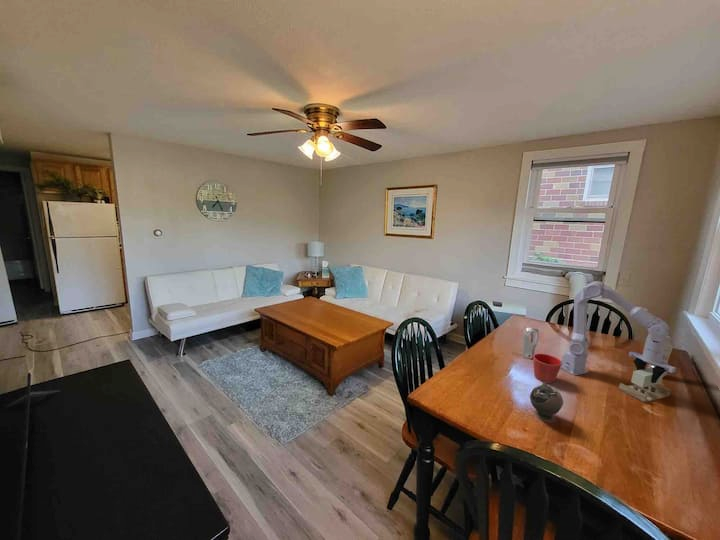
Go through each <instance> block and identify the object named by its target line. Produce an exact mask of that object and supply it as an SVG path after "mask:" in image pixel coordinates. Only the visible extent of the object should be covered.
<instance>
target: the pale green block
mask: <svg viewBox="0 0 720 540" xmlns="http://www.w3.org/2000/svg"><path fill="white" fill-rule="evenodd" d="M663 374H664V373H663ZM663 374H662V375H661V376H660V377H659V379H658V380H657V382H656V383H651V379H652V375H653V369H652V367H651V368H648V367H647V368H645V369H642V370H637V369H636V370H633V371H632V376H631V380H630V382H631V383H633V385H635V384H636V385H638V386H641V387H647V386H651V385H655V384H659V385H660V384H662V380H663V378H664V377H663Z"/></svg>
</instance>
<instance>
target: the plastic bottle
mask: <svg viewBox="0 0 720 540" xmlns="http://www.w3.org/2000/svg"><path fill="white" fill-rule="evenodd" d="M666 337H667V339H666V344H665V349H664V353H663V357H662V361H663V362H665V363H667V364H669V362H668V361H669V359H670V356H671V353H672V351H673V349H674V348H673V346H672V345H673V344H672V343H671V342H670V341H671V340H672V336H670V335H669V334H668V335H667V336H666ZM651 367H652V368H653V367H656V366H655V365H652V364H650V363H648V364H647V368H651ZM667 374H668V371H666V372H664V374H663V378H664V377H666V376H667Z"/></svg>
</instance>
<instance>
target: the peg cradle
mask: <svg viewBox="0 0 720 540" xmlns="http://www.w3.org/2000/svg"><path fill="white" fill-rule="evenodd" d="M618 390H619V391H620V392H622V393H624V394H627V395H628V396H629V397H633V398H635V399H636V400H639V401H640V402H642V403H645V404H646V403H648V402H651V401H655V400H660V399H663V398H667V397H670V394H671V388H668V387H665V386H663V385H661V384H660V383H659V384H655V385H651V386H647V387H641V386H638V385H636V384H631V385H626V384H624V383H622V382H620V383H619V387H618Z"/></svg>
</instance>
